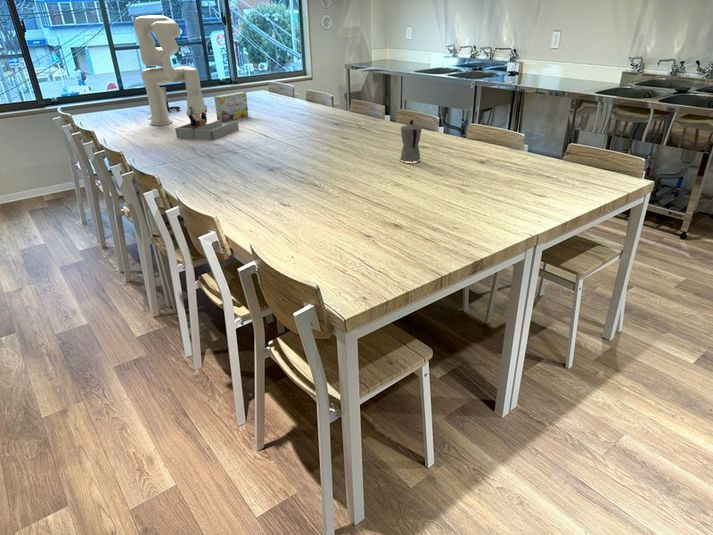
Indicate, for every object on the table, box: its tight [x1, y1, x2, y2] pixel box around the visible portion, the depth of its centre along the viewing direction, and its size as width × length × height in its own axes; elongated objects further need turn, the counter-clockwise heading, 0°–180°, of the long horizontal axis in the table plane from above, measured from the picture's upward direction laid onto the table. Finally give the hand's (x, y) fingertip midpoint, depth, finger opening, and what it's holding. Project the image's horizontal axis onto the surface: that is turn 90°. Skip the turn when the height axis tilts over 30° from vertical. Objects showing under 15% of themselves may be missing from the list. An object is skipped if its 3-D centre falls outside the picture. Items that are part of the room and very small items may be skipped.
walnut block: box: [193, 119, 207, 129], centre depth 276 cm, size 5×5×7 cm
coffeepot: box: [399, 119, 423, 162], centre depth 215 cm, size 15×9×18 cm, turn 6°
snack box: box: [213, 91, 249, 123], centre depth 306 cm, size 21×6×15 cm, turn 143°
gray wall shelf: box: [175, 119, 240, 141], centre depth 274 cm, size 23×26×5 cm
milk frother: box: [159, 86, 181, 112], centre depth 334 cm, size 14×16×15 cm
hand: (199, 124), depth 275 cm, fingers open, 9 cm apart
